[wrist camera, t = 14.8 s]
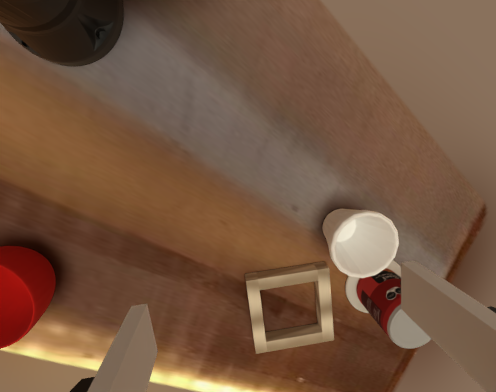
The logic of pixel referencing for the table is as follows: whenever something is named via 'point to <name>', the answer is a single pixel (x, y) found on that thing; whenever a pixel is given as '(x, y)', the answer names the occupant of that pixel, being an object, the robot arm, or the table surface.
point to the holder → (295, 334)
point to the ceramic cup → (23, 291)
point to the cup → (360, 241)
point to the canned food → (390, 308)
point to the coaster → (352, 286)
